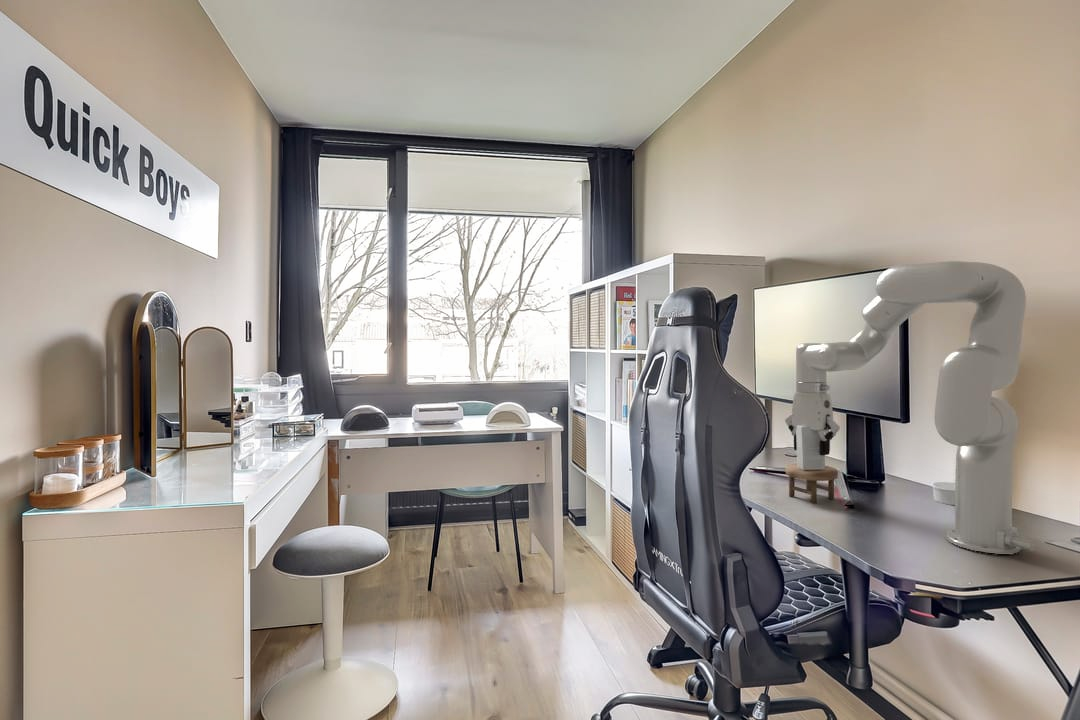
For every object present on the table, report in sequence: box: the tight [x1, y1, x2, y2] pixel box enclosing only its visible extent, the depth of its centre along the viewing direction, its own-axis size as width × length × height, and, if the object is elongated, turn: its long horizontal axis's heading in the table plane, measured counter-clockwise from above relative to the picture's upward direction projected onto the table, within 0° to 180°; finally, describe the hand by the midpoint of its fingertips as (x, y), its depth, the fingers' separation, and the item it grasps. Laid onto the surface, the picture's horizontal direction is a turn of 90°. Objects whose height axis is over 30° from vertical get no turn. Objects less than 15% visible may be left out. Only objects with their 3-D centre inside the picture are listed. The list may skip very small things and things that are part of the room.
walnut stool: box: [785, 463, 839, 505], centre depth 158 cm, size 13×13×8 cm
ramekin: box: [931, 481, 955, 506], centre depth 152 cm, size 9×9×4 cm
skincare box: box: [796, 426, 826, 470], centre depth 158 cm, size 6×4×12 cm
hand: (811, 451), depth 157 cm, fingers open, 7 cm apart
